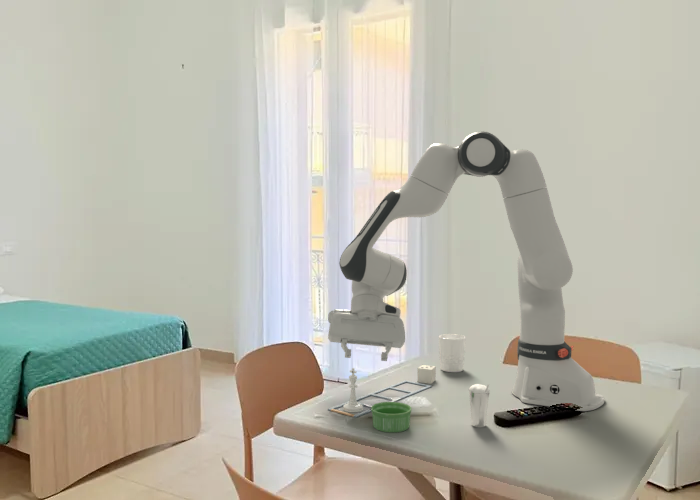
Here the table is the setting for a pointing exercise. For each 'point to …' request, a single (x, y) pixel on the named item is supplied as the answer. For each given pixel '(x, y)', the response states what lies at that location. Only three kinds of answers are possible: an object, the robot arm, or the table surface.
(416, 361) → the table surface
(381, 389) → the ladder
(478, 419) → the milkshake
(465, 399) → the table surface
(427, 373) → the die
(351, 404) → the chess piece
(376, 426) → the ramekin
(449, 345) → the white cup
